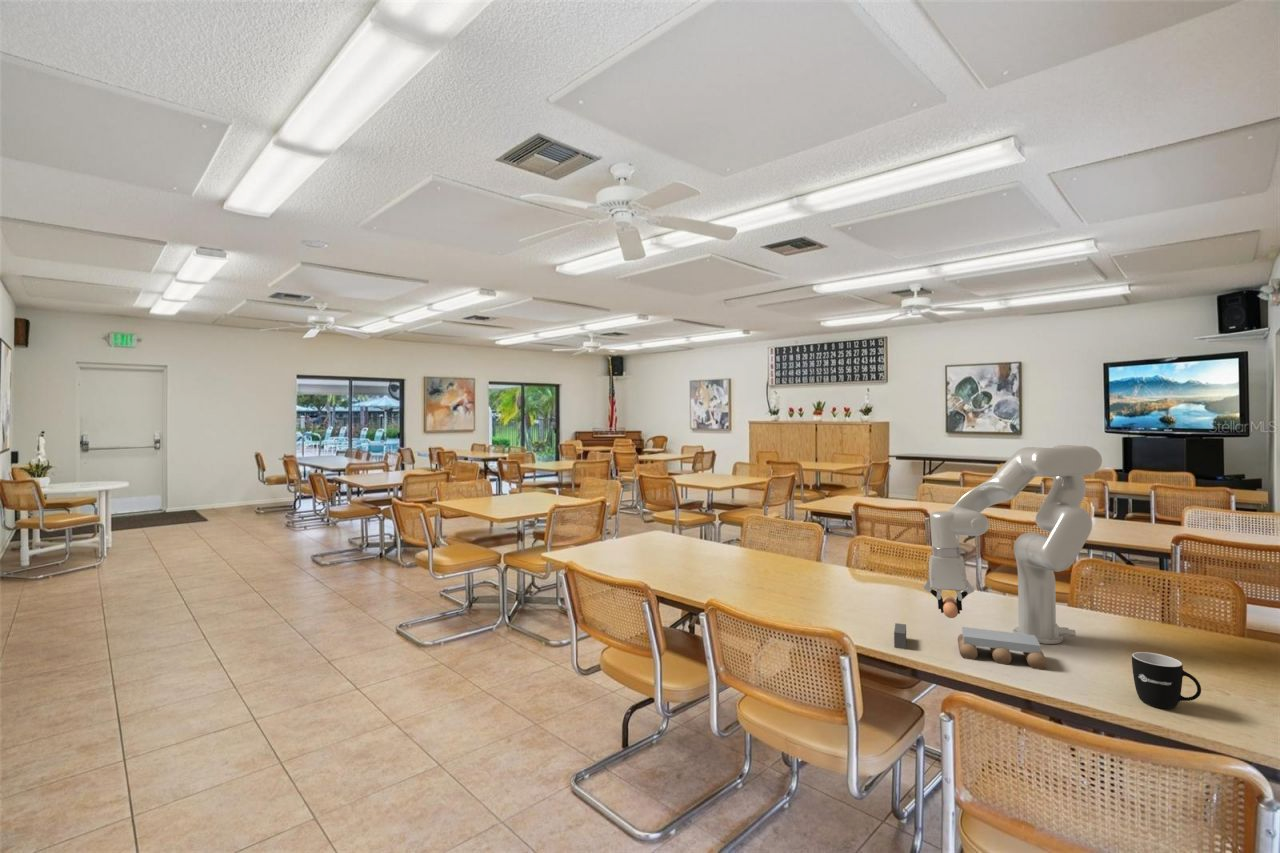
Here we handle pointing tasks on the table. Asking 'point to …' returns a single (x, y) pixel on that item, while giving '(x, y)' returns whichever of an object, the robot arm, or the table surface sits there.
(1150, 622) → the table surface
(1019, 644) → the slab
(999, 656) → the roller mid
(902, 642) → the block
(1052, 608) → the robot arm
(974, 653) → the roller
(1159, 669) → the mug
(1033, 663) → the roller
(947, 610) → the roller
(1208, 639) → the table surface
